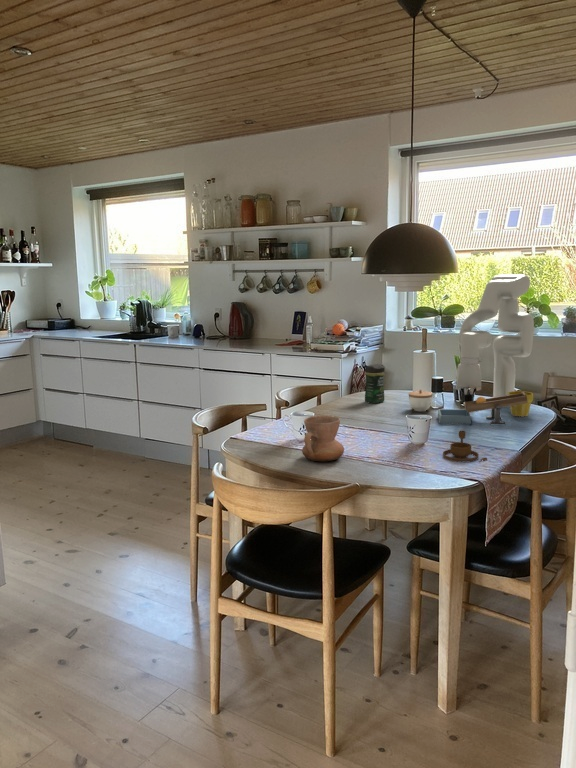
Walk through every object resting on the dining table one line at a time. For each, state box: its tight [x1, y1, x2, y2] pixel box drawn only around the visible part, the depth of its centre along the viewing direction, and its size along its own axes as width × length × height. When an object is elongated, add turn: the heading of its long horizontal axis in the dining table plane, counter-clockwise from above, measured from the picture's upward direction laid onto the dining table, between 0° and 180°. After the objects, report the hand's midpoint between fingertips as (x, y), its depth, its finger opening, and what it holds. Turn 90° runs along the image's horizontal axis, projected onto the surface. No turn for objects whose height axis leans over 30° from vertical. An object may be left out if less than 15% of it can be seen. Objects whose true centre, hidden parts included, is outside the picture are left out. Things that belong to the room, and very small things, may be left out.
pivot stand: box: [485, 405, 506, 425], centre depth 261 cm, size 11×6×8 cm, turn 171°
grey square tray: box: [437, 408, 472, 425], centre depth 264 cm, size 12×12×4 cm
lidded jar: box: [408, 389, 434, 412], centre depth 285 cm, size 11×11×9 cm
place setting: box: [442, 429, 488, 463], centre depth 217 cm, size 18×20×6 cm
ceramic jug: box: [301, 414, 345, 463], centre depth 215 cm, size 18×14×14 cm
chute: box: [462, 392, 528, 414], centre depth 265 cm, size 15×24×4 cm, turn 81°
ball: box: [475, 396, 487, 404], centre depth 261 cm, size 4×4×4 cm
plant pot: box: [508, 390, 534, 418], centre depth 271 cm, size 10×10×10 cm
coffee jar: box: [364, 363, 386, 404], centre depth 303 cm, size 10×8×19 cm
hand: (467, 403), depth 271 cm, fingers closed
